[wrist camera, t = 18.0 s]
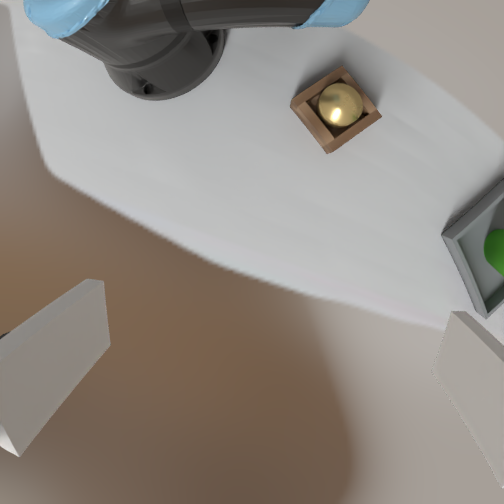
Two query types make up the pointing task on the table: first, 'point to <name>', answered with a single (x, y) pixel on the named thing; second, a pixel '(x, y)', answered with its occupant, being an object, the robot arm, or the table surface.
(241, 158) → the table surface
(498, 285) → the tray
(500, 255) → the cup
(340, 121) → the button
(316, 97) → the block
